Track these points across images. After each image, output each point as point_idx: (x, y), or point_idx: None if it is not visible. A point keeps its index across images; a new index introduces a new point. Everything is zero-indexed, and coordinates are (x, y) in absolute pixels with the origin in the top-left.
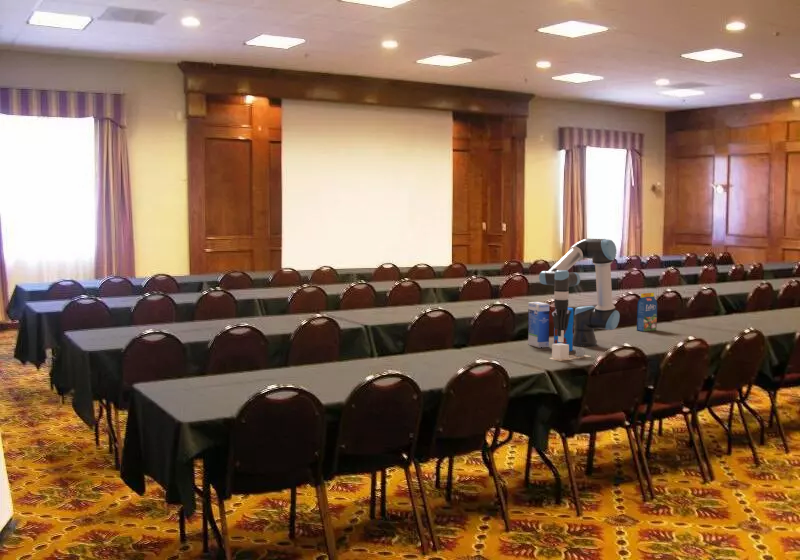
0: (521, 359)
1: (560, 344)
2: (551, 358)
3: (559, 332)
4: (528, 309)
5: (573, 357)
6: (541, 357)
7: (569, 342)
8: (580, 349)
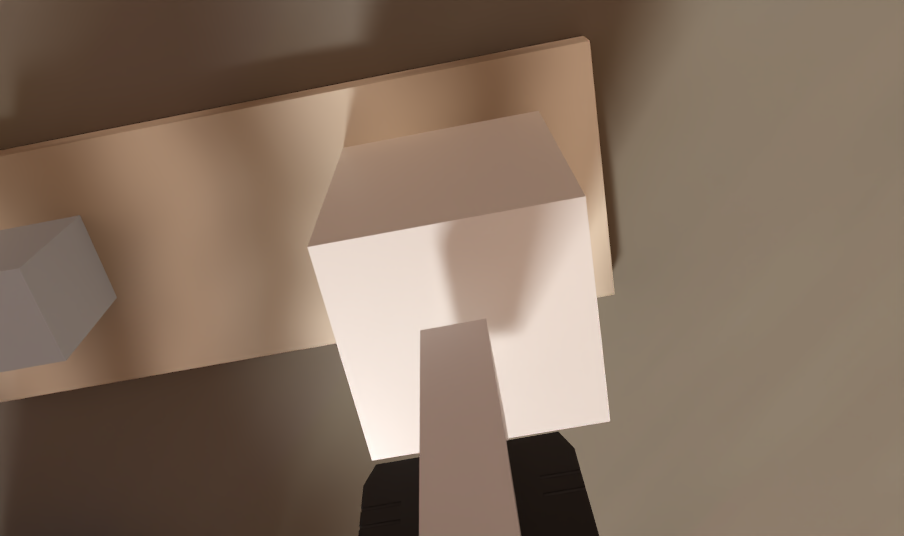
0: (883, 433)
1: None
2: None
3: (587, 517)
4: None
5: (215, 203)
6: None
7: None
8: (9, 273)
